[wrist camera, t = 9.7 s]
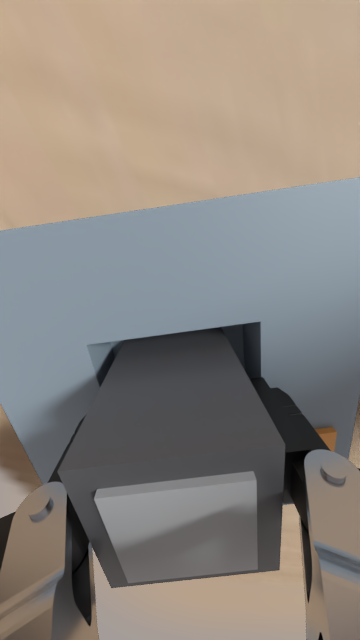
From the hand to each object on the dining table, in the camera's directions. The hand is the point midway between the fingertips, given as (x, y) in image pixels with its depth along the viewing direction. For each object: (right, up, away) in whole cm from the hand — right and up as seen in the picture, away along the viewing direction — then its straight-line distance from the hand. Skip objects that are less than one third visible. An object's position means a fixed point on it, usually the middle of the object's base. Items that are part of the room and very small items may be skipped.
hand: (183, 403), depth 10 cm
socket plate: (0, +1, +3) cm, 3 cm away
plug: (0, +1, +2) cm, 3 cm away
